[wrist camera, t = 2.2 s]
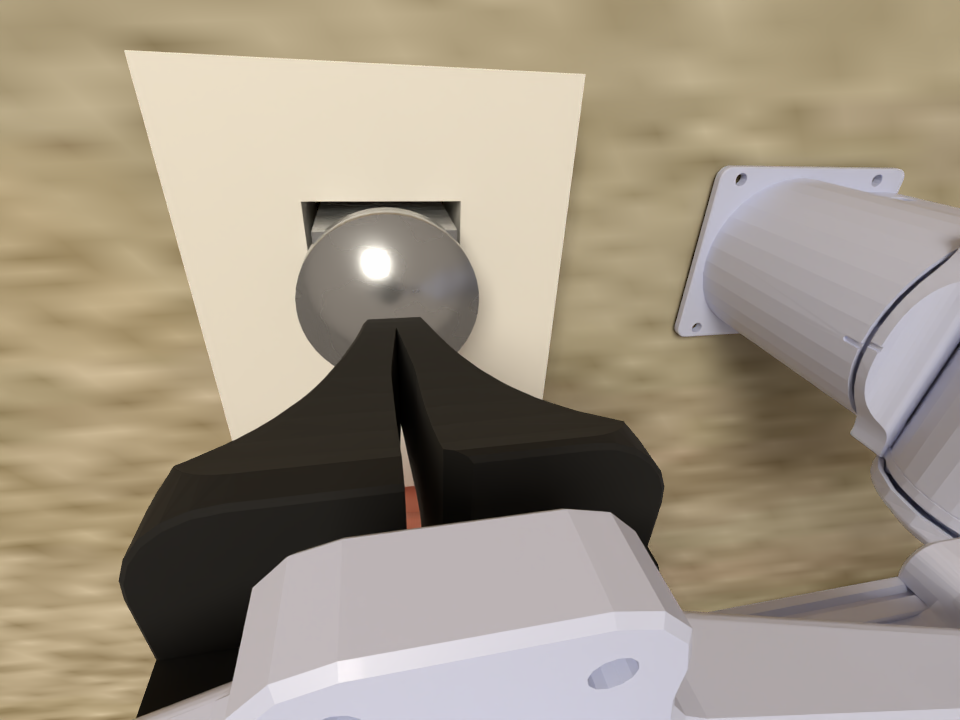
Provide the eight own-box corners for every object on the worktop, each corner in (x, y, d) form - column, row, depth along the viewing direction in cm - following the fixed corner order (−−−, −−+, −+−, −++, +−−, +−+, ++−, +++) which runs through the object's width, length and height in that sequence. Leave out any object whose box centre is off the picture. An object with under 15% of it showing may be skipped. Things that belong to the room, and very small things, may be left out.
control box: (543, 73, 18) (585, 73, 14) (500, 528, 30) (517, 587, 26) (177, 54, 15) (124, 50, 12) (293, 557, 27) (283, 625, 24)
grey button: (456, 180, 17) (482, 213, 13) (453, 315, 20) (475, 375, 16) (300, 179, 16) (280, 215, 12) (320, 321, 19) (308, 387, 15)
